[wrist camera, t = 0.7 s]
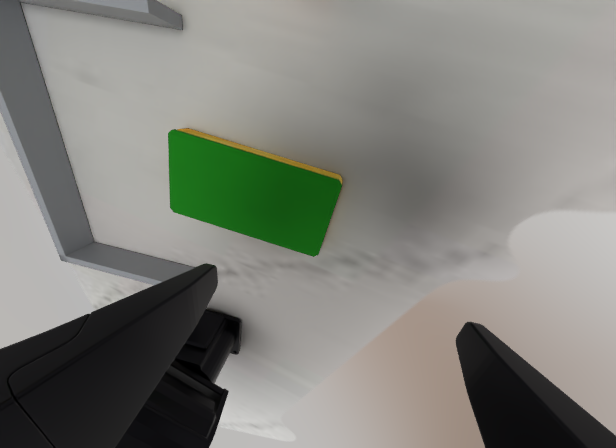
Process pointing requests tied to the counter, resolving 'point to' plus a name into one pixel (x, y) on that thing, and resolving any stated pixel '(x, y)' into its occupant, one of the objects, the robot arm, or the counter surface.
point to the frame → (49, 145)
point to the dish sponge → (251, 190)
